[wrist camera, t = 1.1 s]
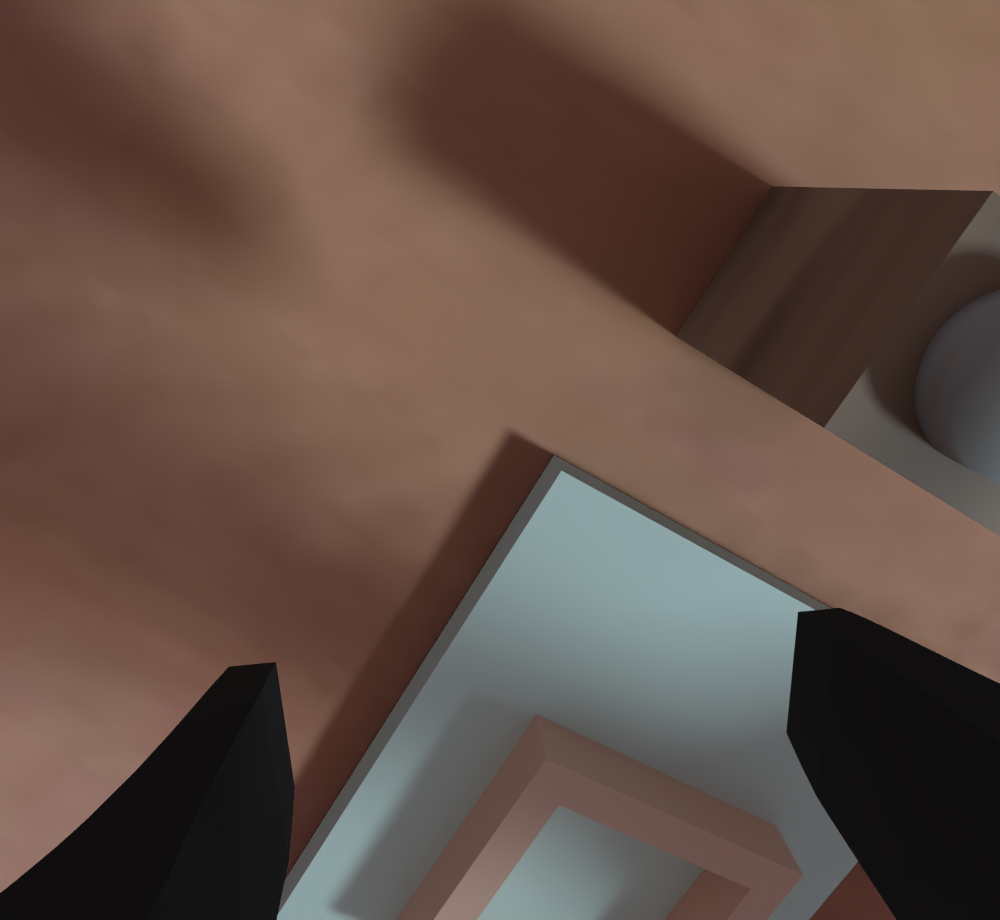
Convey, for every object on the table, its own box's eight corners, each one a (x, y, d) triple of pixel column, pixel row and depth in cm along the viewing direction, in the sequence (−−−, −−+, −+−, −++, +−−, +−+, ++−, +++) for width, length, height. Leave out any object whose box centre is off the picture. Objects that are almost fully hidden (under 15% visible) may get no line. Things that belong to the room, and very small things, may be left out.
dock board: (963, 681, 24) (1034, 747, 22) (590, 1131, 29) (608, 1235, 26) (554, 454, 21) (574, 498, 18) (206, 1002, 26) (180, 1105, 23)
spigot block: (901, 275, 20) (1241, 343, 12) (803, 414, 21) (1055, 570, 13) (772, 186, 20) (1042, 192, 11) (675, 336, 20) (856, 447, 12)
